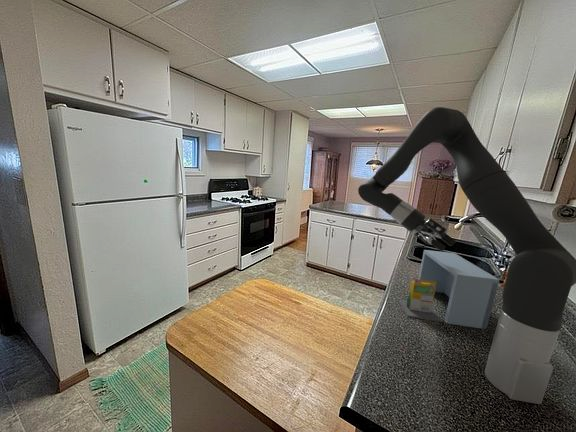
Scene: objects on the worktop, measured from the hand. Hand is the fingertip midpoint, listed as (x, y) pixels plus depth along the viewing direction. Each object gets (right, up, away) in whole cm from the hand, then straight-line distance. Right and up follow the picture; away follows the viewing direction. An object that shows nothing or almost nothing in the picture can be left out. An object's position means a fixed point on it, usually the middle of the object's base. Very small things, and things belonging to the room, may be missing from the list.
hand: (448, 246), depth 80 cm
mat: (-8, -23, +4) cm, 25 cm away
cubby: (+6, -23, +10) cm, 26 cm away
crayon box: (-8, -23, +4) cm, 25 cm away
